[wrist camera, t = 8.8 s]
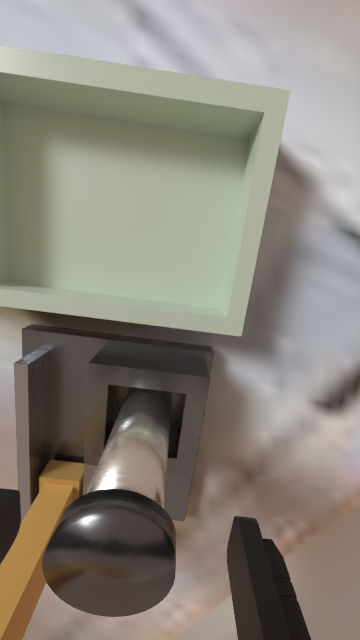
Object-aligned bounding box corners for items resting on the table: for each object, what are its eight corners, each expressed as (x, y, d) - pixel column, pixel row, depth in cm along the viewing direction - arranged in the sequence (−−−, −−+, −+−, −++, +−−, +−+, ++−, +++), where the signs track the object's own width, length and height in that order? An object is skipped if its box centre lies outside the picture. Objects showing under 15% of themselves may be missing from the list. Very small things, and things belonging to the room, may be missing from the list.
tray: (3, 293, 17) (-41, 300, 14) (-6, 88, 14) (-63, 35, 11) (229, 322, 17) (241, 336, 14) (265, 129, 14) (290, 90, 11)
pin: (118, 419, 18) (42, 610, 8) (122, 367, 17) (41, 512, 7) (175, 426, 18) (167, 622, 8) (182, 374, 17) (183, 527, 7)
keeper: (50, 501, 19) (-425, 1373, 4) (50, 459, 18) (-563, 1392, 3) (164, 513, 19) (111, 1377, 4) (171, 473, 19) (128, 1396, 3)
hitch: (34, 491, 21) (1, 543, 17) (32, 324, 17) (-11, 342, 13) (184, 506, 21) (184, 562, 17) (211, 346, 18) (220, 370, 14)
